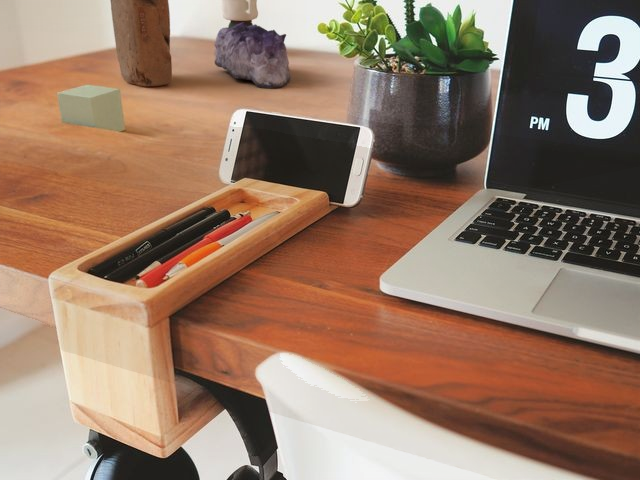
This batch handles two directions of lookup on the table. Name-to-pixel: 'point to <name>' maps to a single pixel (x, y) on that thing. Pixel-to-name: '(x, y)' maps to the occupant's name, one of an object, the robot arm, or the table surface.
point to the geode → (253, 55)
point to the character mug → (239, 11)
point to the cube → (92, 107)
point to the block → (143, 40)
